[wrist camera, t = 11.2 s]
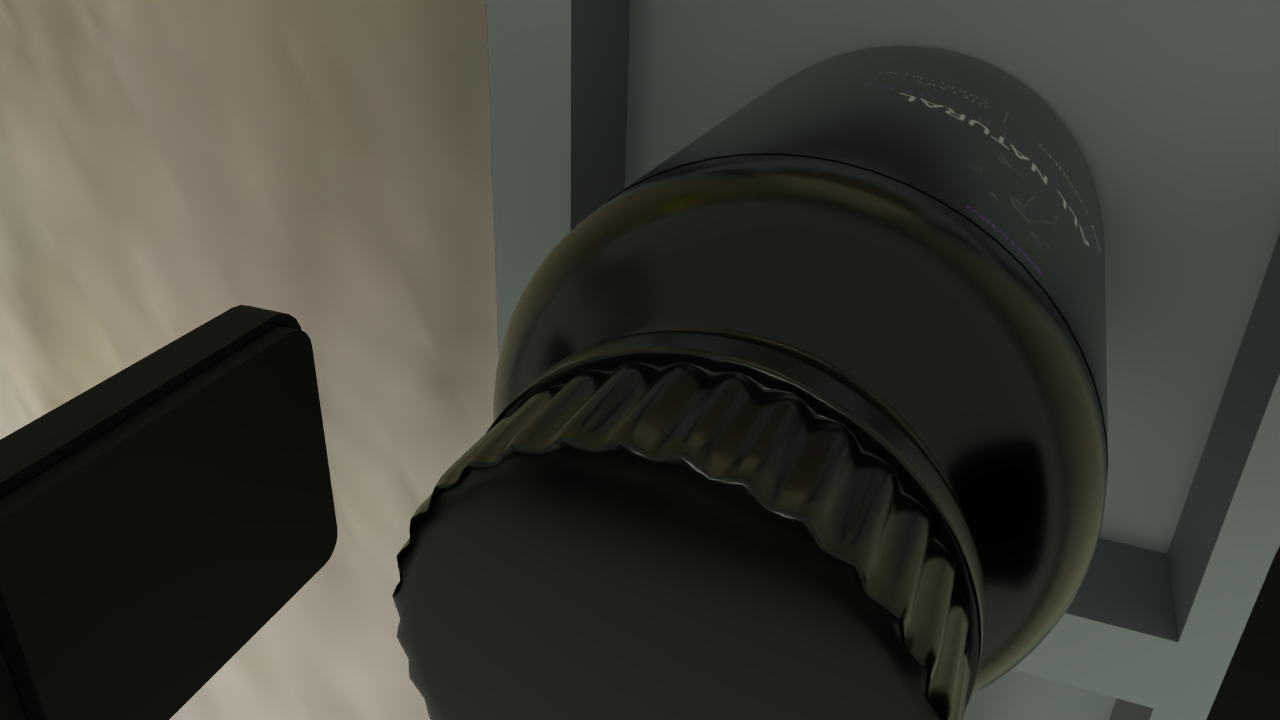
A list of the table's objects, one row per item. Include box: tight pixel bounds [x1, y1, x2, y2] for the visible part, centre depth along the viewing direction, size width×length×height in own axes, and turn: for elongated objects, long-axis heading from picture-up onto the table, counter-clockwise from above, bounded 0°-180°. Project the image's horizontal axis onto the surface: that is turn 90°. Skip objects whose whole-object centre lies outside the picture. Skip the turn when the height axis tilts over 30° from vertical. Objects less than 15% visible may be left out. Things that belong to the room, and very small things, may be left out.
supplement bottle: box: [393, 46, 1108, 720], centre depth 13 cm, size 7×7×12 cm
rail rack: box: [486, 0, 1280, 720], centre depth 16 cm, size 26×14×6 cm, turn 177°
